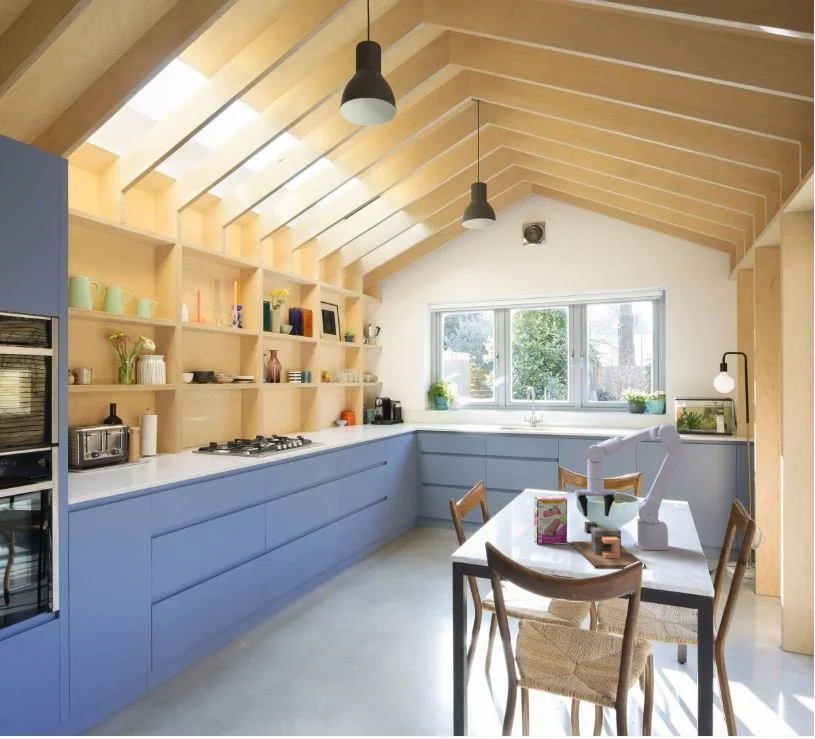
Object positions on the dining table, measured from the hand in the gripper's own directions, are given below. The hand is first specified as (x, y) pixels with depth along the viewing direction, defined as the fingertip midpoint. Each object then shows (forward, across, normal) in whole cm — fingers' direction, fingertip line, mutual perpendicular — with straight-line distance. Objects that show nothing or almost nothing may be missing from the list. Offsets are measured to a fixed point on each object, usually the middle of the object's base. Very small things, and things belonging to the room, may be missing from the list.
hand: (596, 515), depth 209 cm
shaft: (+6, -2, -6) cm, 9 cm away
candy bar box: (+10, -17, 0) cm, 19 cm away
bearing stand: (+10, -2, -15) cm, 18 cm away
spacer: (+6, -4, -20) cm, 21 cm away
